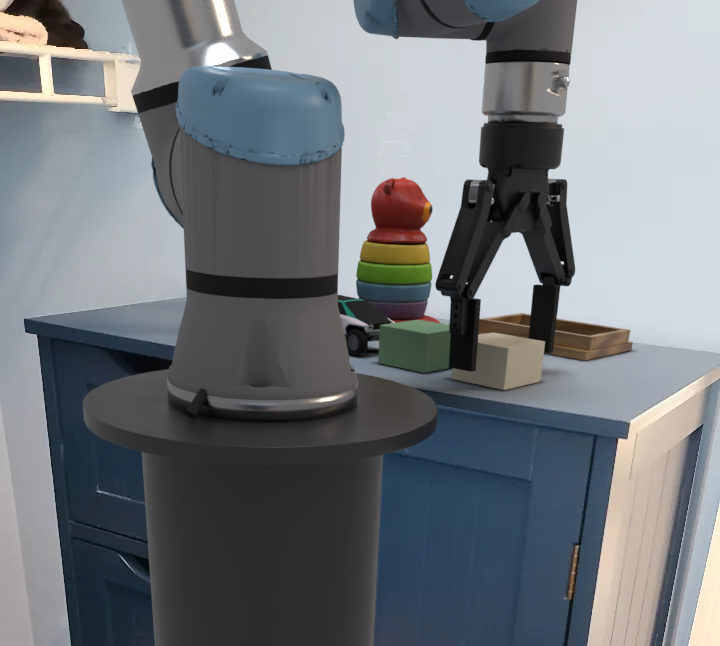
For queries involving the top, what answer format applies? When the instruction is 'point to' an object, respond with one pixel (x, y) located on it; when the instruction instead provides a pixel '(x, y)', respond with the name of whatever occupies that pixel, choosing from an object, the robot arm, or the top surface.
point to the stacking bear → (397, 253)
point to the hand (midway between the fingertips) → (502, 360)
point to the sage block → (415, 345)
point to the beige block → (505, 362)
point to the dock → (565, 336)
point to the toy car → (360, 323)
